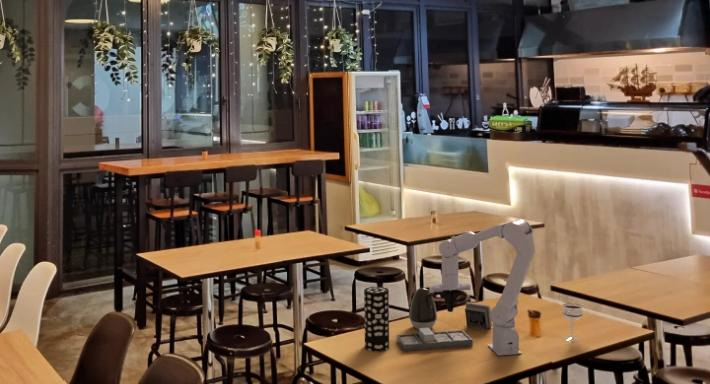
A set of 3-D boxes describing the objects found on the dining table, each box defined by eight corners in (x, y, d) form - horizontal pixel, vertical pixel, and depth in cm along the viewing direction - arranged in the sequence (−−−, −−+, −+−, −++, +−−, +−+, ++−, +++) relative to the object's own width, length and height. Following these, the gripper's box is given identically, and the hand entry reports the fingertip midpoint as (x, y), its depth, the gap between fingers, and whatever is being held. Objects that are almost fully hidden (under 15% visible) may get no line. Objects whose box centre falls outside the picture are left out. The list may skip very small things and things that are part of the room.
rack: (472, 346, 210) (472, 339, 210) (404, 351, 206) (404, 344, 206) (462, 336, 220) (462, 329, 220) (397, 341, 216) (396, 334, 216)
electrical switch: (492, 327, 229) (491, 303, 228) (487, 332, 225) (486, 308, 223) (468, 323, 235) (467, 300, 233) (463, 328, 230) (462, 305, 229)
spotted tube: (374, 341, 217) (373, 285, 214) (394, 346, 211) (393, 289, 209) (359, 348, 210) (359, 290, 208) (379, 353, 205) (378, 294, 203)
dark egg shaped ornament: (423, 334, 223) (423, 293, 221) (403, 327, 231) (403, 287, 229) (443, 328, 229) (443, 288, 228) (422, 321, 237) (422, 282, 236)
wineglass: (572, 334, 220) (573, 302, 219) (586, 341, 214) (587, 307, 212) (557, 337, 217) (558, 304, 216) (570, 343, 211) (571, 309, 210)
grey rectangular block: (434, 345, 209) (434, 334, 209) (424, 346, 209) (424, 334, 208) (428, 338, 216) (428, 327, 216) (418, 339, 216) (418, 328, 215)
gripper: (465, 269, 221) (465, 306, 222) (426, 271, 218) (426, 309, 220) (472, 274, 214) (472, 312, 216) (432, 276, 212) (432, 315, 213)
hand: (450, 311), depth 217 cm, fingers closed
